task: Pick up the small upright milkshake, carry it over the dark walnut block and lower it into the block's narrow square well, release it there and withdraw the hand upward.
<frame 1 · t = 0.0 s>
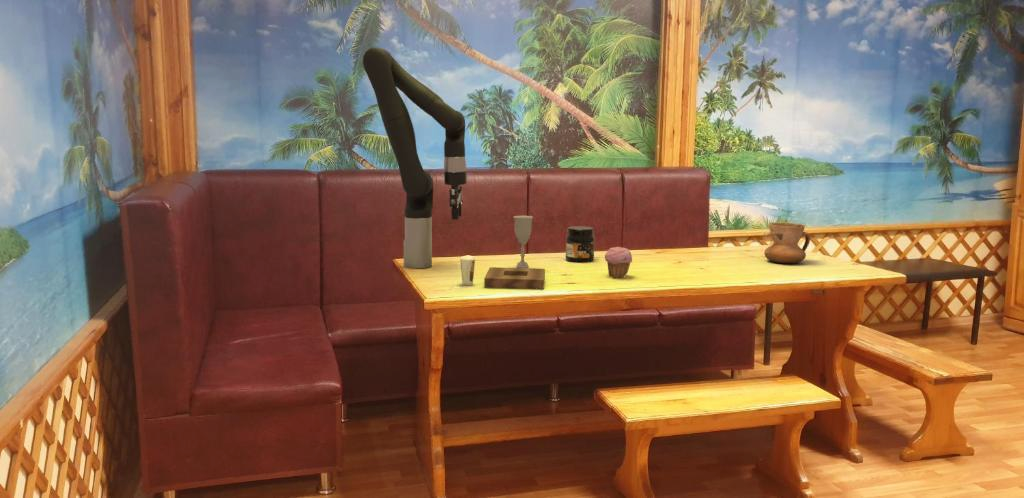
hand: (456, 217, 272), 17 cm above the table, tool pointing down, fingers open, 8 cm apart
ceramic jug: (785, 262, 295), on the table
cupcake: (617, 277, 263), on the table
supplement container: (579, 260, 292), on the table
milkshake: (466, 285, 247), on the table
chalice: (522, 269, 274), on the table
well block: (515, 282, 251), on the table
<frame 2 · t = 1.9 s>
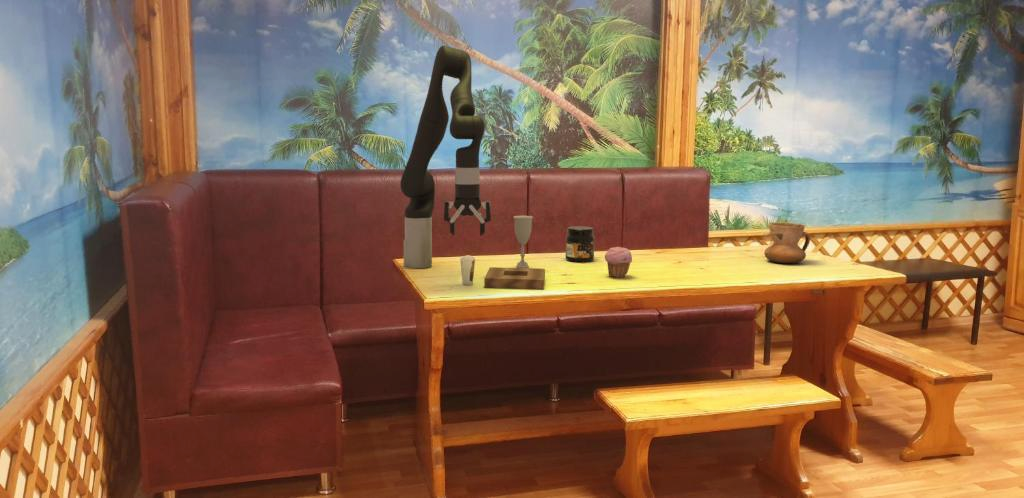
hand: (467, 235, 245), 15 cm above the table, tool pointing down, fingers open, 8 cm apart
nothing on the table moved.
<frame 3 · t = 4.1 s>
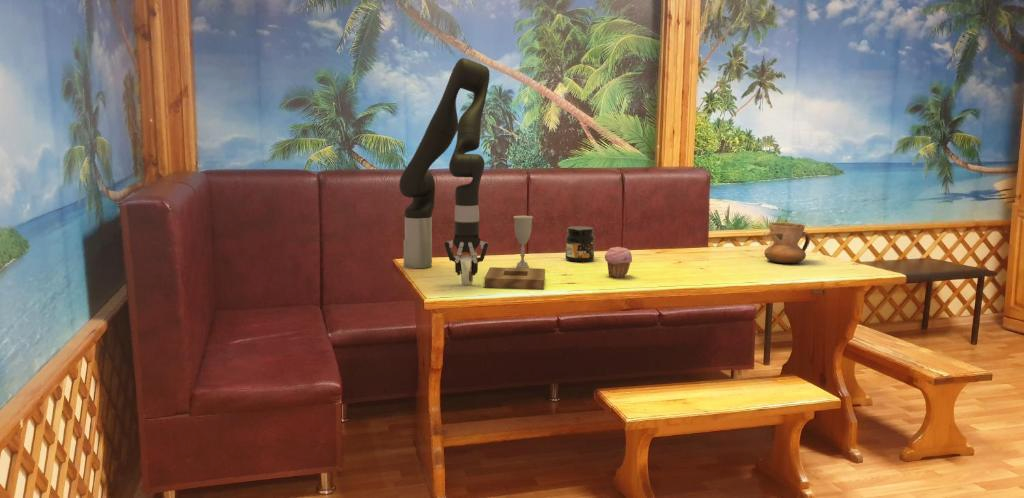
hand: (466, 274, 247), 3 cm above the table, tool pointing down, fingers closed on milkshake, 4 cm apart
milkshake: (465, 285, 247), on the table, touching gripper
everything else where it was.
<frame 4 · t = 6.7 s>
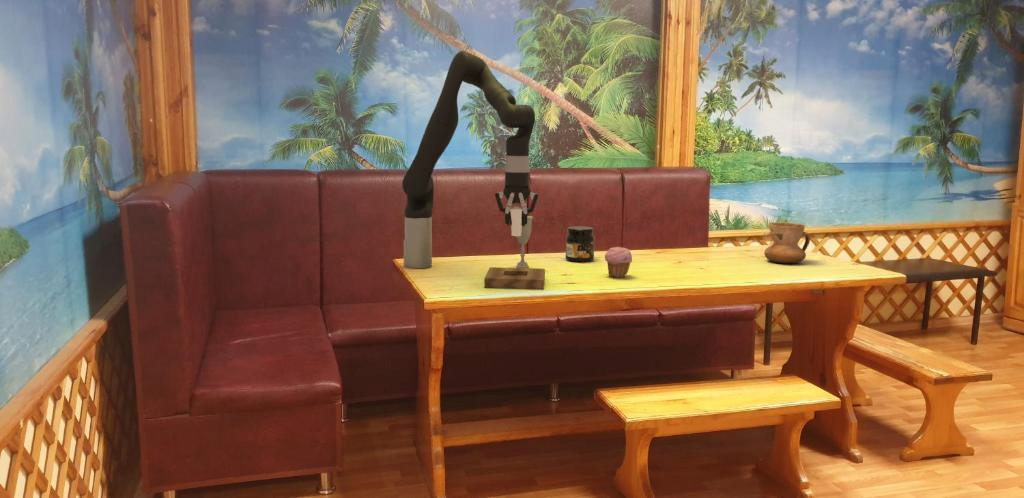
hand: (516, 225, 248), 18 cm above the table, tool pointing down, fingers closed on milkshake, 4 cm apart
milkshake: (515, 236, 249), point 15 cm above the table, touching gripper
everything else where it was.
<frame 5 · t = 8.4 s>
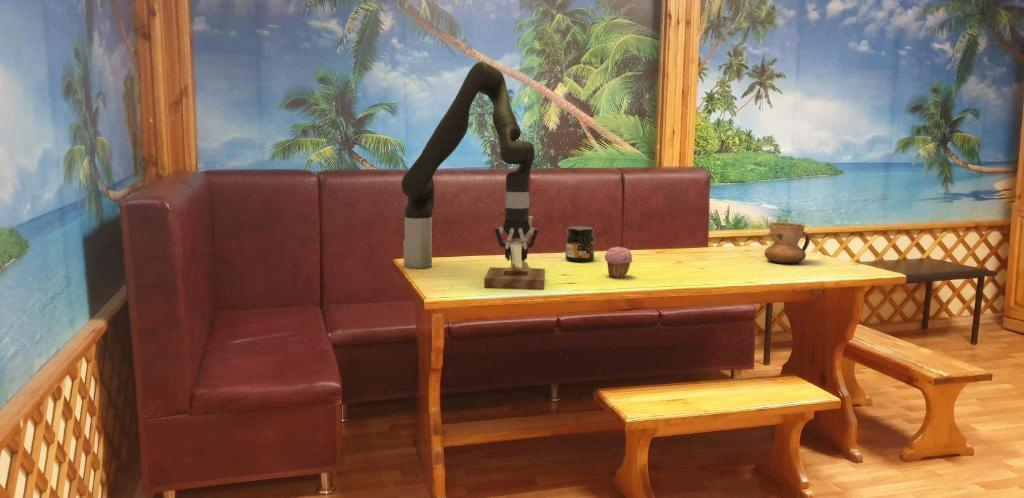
hand: (516, 260, 250), 7 cm above the table, tool pointing down, fingers closed on milkshake, 4 cm apart
milkshake: (515, 270, 251), point 4 cm above the table, touching gripper
everything else where it was.
when the fingers open (5 cm above the table, at t = 9.7 s): milkshake drops 2 cm, resting on well block.
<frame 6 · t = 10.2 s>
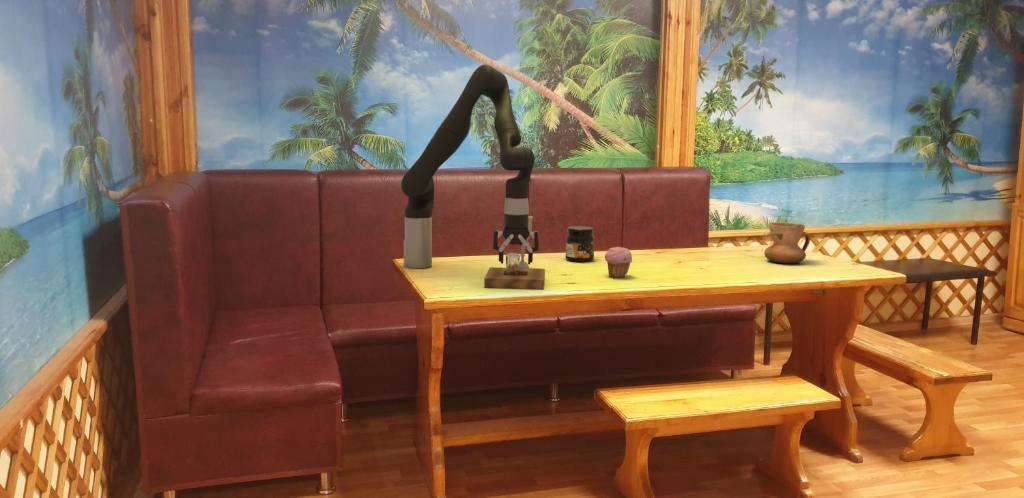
hand: (515, 263, 250), 6 cm above the table, tool pointing down, fingers open, 8 cm apart
milkshake: (510, 282, 251), resting on well block, touching gripper
everything else where it was.
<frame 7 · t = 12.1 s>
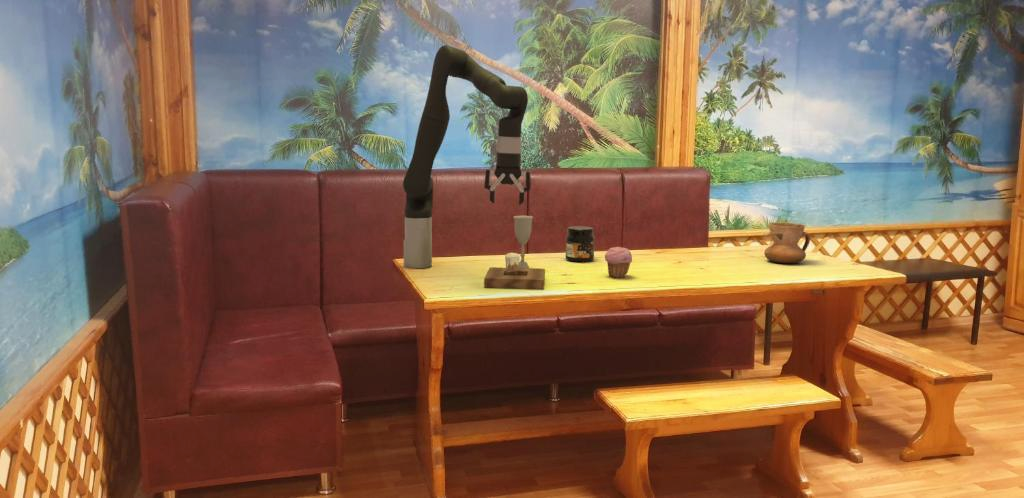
hand: (506, 203, 249), 25 cm above the table, tool pointing down, fingers open, 8 cm apart
milkshake: (510, 282, 251), resting on well block
everything else where it was.
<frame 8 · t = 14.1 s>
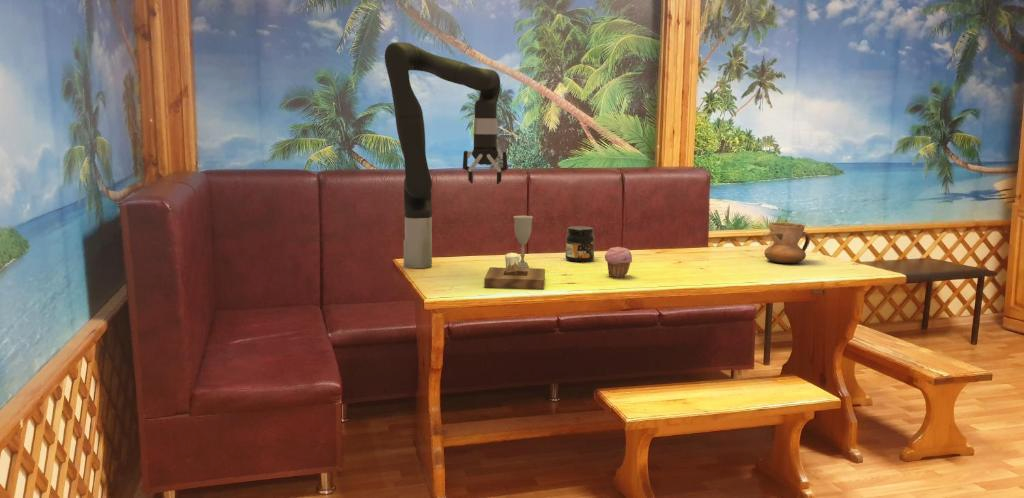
hand: (484, 183, 258), 30 cm above the table, tool pointing down, fingers open, 8 cm apart
nothing on the table moved.
at the end: milkshake 1.5 cm off-centre on the well block, point 0.1 cm above the well block's base; the gripper is holding nothing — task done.
